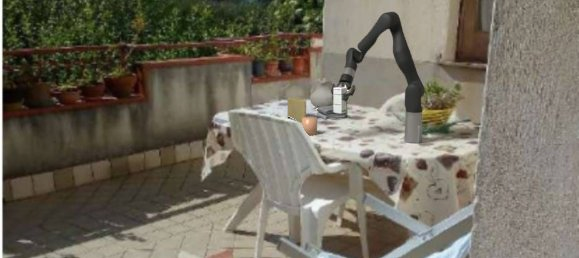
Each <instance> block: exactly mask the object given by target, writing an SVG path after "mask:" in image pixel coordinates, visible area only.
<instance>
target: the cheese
mask: <svg viewBox="0 0 579 258" xmlns="http://www.w3.org/2000/svg"><path fill="white" fill-rule="evenodd" d="M288 116H290V117H292V118H294V119H296V120H297V121H296V120H295V121H296V122H298V121H299V122H298V123H301V122H302V117H307V100H305V99H303V98H302V97H301V96H290V97H289V96H288V97H287V117H288Z"/></svg>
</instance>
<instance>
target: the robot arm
mask: <svg viewBox="0 0 579 258" xmlns="http://www.w3.org/2000/svg"><path fill="white" fill-rule="evenodd" d="M401 21H402V20H401V18H400V15H399V14H398V13H397V12H395V11H388V12H383V13H381V14H380V16H379V17H378V18H377V20H376V21H375V23H374V24H373V26H372V28H371V29H370V30H369V32H367V34H366V35H365V36H364V37H363V38H362V39H361V40H360V41H359V43H357V48H355V47H349V48H348V49H347V51H346V53H345V65H344V68H343V70H342V71H341V74H340V78H339V80H338V83H337V84H335V83H332V86H331V93H332V94H333V95H332V99H333V100H334V97H333V96H334V89H333V88H336V87H347V92H346V93H347V94H346V96H345V98H344V100H345V101H347V102H348V100H349V98H350V97H351V96H354V93H355V92H356V85H355V84H353V82H354V79H355V76H356V71H357V69H358V64H361V63H362V62H363V60H364V59H365V56H366V55H367V53H368V52H369V51H370V50H371V48H373V46H374V45H375V44H376V42H377V40H378V39H379V37H380V36H381V35H382V34H383V33H384V32H386V31H387V30H389V31H390V34H391V37H392V54H393V57H394V60H395V63H396V65H397V67H398V69H400V72H401V73H402V74H403V76H404V77H405V80H406V84H407V85H406V88H405V91H404V108H405V117H404V118H405V119H404V135H403V136H404V137H403V138H404V139H403V140H404V142H405V143H408V144H409V143H410V144H420V143H421V142H423V122H422V121H423V106H422V97H423V96H424V95H425V93H426V91H425V90H426V89H425V86H424V84H423V81H422V79H421V78H420V76H419V74H418V71H417V68H416V64H415V62H414V59H413V55H412V53H411V49H410V47H409V45H408V42H407V39H406V35H405V33H404V29H403V25H402V22H401ZM349 90H350V91H349Z"/></svg>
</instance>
